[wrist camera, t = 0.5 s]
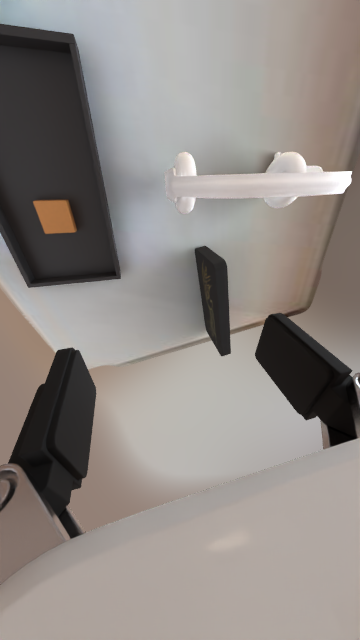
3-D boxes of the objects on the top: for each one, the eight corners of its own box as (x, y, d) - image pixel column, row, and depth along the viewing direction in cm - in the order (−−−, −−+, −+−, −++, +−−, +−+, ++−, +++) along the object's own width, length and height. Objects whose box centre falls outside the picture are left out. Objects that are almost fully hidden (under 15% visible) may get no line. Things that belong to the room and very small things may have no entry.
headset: (160, 210, 31) (193, 234, 17) (156, 152, 27) (195, 121, 13) (269, 204, 35) (370, 219, 21) (280, 152, 31) (416, 128, 17)
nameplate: (213, 327, 49) (230, 355, 41) (206, 329, 49) (222, 358, 41) (203, 244, 36) (227, 261, 28) (194, 247, 36) (214, 265, 28)
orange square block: (36, 200, 26) (32, 201, 25) (68, 199, 27) (65, 200, 26) (48, 231, 29) (45, 234, 27) (77, 230, 29) (75, 232, 28)
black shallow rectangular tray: (-88, 27, 18) (-114, 7, 16) (78, 48, 21) (73, 33, 19) (34, 281, 32) (28, 287, 30) (120, 273, 35) (120, 278, 33)
